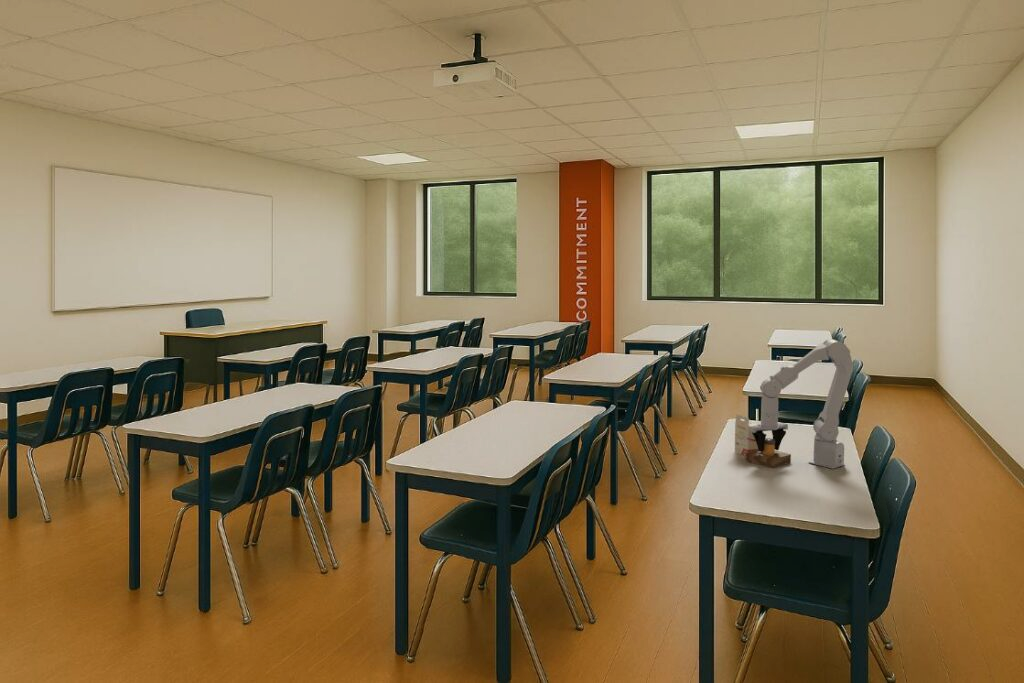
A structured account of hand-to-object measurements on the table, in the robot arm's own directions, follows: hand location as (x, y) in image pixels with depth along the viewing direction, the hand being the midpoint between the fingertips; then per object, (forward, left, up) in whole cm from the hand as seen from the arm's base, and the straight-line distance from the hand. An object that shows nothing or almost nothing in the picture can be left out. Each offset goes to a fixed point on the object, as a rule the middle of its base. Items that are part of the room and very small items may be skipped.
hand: (768, 450), depth 256 cm
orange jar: (0, 0, -4) cm, 4 cm away
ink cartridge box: (+11, -3, -4) cm, 12 cm away
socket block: (0, 0, -4) cm, 4 cm away
